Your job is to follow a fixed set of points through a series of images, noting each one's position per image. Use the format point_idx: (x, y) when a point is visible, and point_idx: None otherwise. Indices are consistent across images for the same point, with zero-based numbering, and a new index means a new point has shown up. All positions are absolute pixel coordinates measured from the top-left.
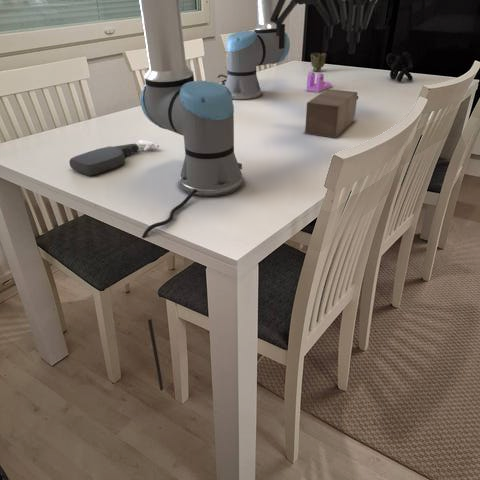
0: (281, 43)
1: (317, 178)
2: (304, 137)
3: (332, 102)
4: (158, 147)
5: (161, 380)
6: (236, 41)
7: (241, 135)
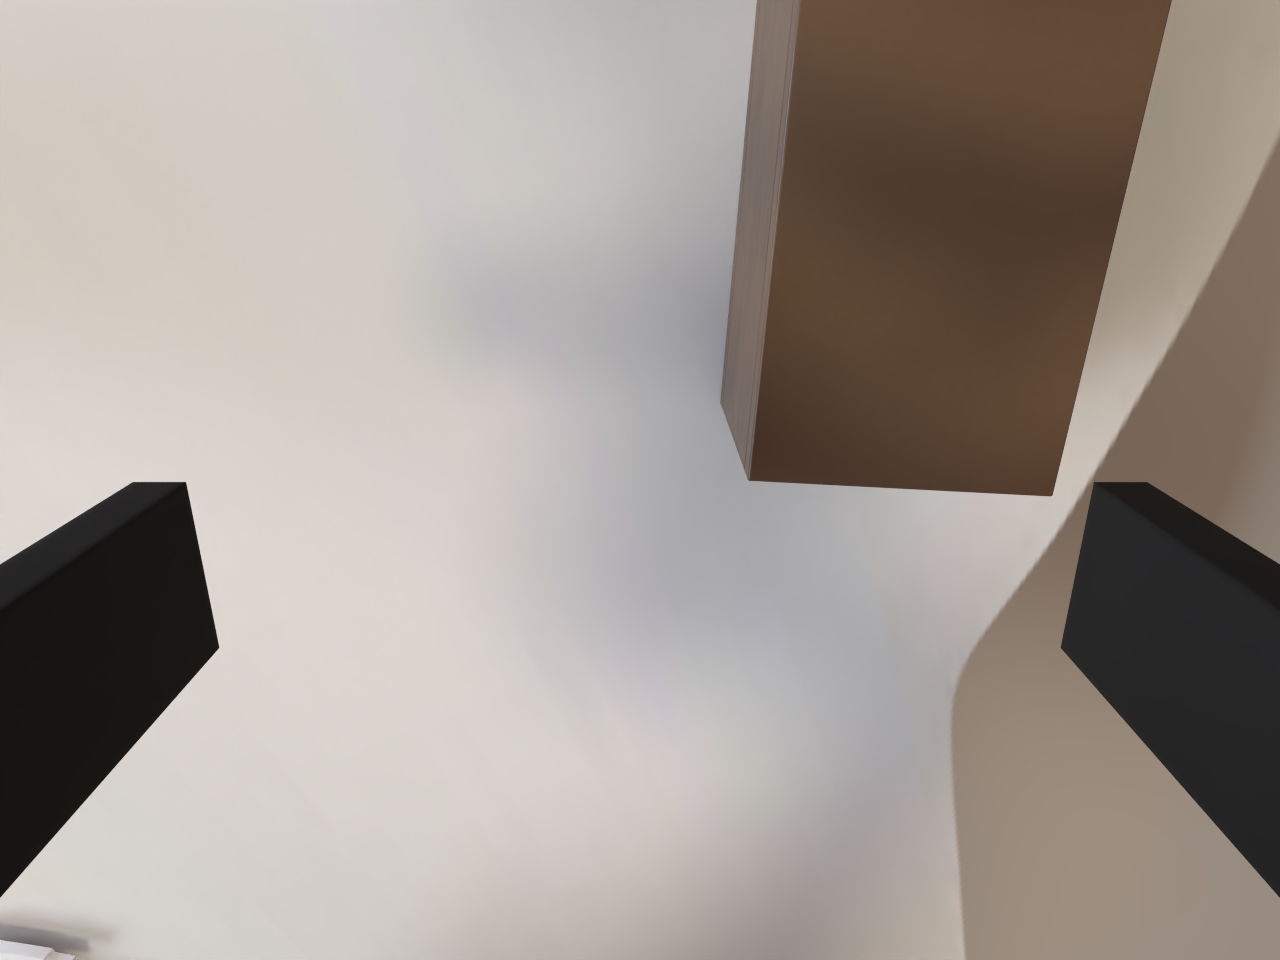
0: (165, 696)
1: (948, 946)
2: (740, 479)
3: (981, 393)
4: (75, 956)
5: None
6: None
7: (334, 596)
